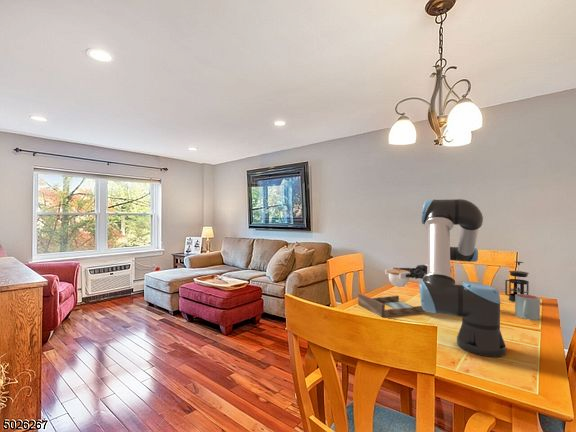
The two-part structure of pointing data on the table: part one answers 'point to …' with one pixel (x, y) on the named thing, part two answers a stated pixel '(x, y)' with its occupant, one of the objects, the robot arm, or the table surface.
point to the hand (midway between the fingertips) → (392, 273)
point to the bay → (392, 301)
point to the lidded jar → (397, 277)
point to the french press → (521, 282)
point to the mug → (527, 306)
